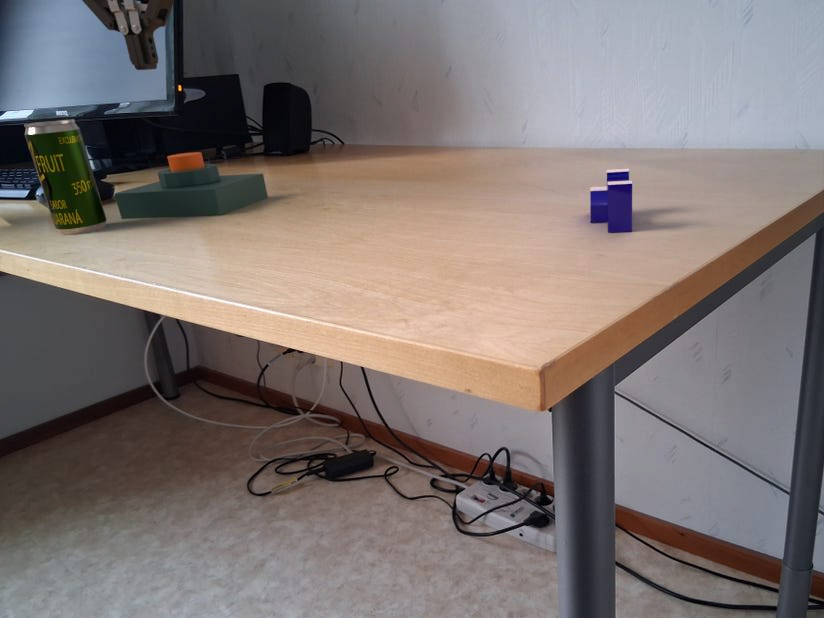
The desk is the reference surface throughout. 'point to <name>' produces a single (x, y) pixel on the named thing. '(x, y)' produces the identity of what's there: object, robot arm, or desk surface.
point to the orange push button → (186, 161)
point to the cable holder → (613, 202)
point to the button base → (191, 194)
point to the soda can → (66, 176)
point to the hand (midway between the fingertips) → (146, 69)
